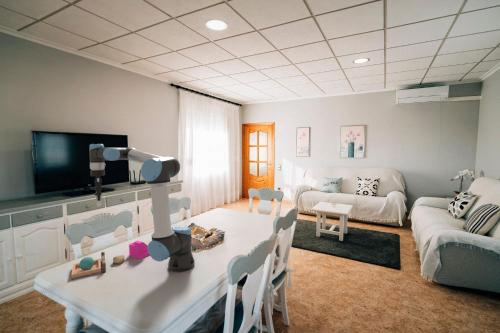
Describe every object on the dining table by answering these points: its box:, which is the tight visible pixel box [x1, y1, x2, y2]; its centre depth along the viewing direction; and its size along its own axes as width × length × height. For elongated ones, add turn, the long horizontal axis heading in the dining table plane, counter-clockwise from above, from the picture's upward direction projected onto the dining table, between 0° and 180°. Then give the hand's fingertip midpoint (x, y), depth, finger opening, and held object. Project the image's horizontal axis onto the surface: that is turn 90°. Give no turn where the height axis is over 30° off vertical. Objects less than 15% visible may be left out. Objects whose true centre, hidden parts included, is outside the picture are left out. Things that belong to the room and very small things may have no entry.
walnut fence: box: [100, 251, 107, 274], centre depth 142 cm, size 18×2×5 cm, turn 33°
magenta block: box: [128, 240, 150, 260], centre depth 158 cm, size 12×10×10 cm
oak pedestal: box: [112, 254, 125, 265], centre depth 147 cm, size 6×6×3 cm
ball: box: [78, 256, 95, 270], centre depth 136 cm, size 7×7×7 cm
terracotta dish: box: [71, 258, 102, 280], centre depth 137 cm, size 13×13×2 cm
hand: (98, 203), depth 149 cm, fingers open, 13 cm apart
